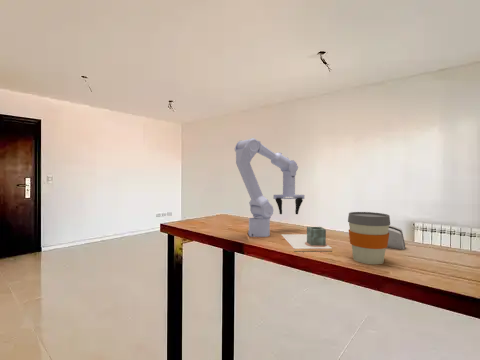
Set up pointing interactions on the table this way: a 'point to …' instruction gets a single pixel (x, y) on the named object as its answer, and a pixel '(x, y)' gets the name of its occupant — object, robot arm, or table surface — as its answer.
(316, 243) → the collar
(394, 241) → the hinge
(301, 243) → the post board
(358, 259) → the reusable coffee cup
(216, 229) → the table surface
